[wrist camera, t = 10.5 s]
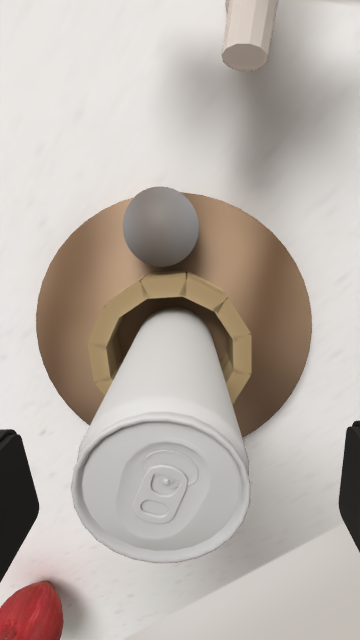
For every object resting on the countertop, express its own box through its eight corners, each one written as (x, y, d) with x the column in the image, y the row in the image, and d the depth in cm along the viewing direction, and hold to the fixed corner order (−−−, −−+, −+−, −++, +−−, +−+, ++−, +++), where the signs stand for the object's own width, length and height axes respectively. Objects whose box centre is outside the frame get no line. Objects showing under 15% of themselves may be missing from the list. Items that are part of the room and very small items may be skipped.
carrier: (311, 183, 17) (350, 167, 13) (298, 437, 22) (323, 482, 18) (18, 206, 18) (-30, 198, 14) (69, 447, 23) (44, 492, 19)
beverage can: (222, 320, 18) (289, 449, 7) (196, 384, 20) (213, 586, 8) (152, 294, 18) (94, 384, 6) (128, 361, 19) (45, 538, 8)
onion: (9, 560, 27) (-63, 691, 19) (70, 559, 26) (23, 692, 19) (22, 603, 28) (-40, 740, 20) (80, 602, 28) (39, 741, 20)
